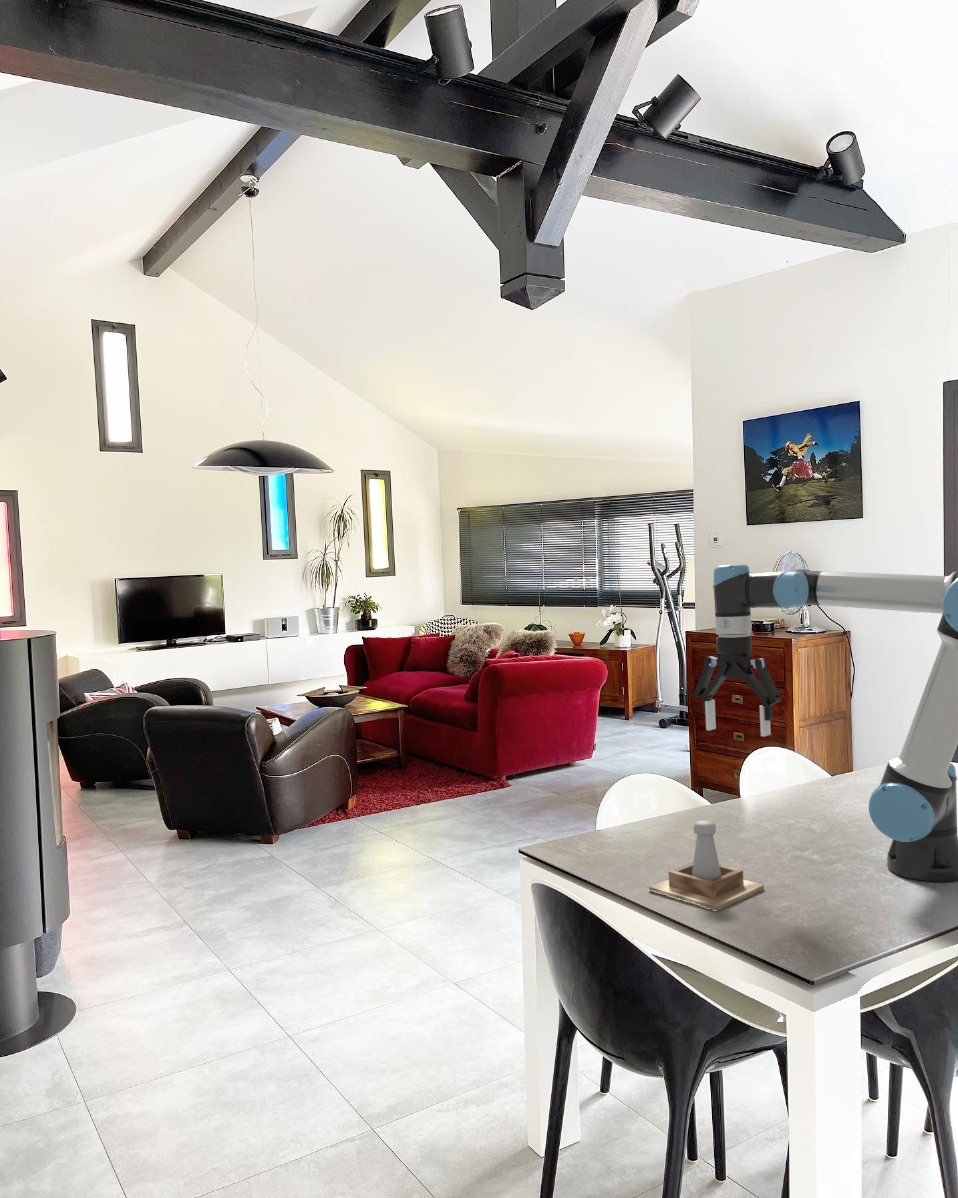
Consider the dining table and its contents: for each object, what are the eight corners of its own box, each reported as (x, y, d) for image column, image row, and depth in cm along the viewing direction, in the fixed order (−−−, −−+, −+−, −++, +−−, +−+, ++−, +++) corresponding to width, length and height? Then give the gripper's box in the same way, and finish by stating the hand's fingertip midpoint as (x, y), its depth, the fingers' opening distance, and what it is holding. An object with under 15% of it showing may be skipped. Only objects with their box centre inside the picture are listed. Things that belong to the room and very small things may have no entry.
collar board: (763, 889, 185) (763, 870, 185) (716, 911, 175) (715, 890, 175) (697, 872, 197) (696, 853, 197) (649, 891, 187) (648, 872, 187)
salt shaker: (700, 879, 190) (698, 816, 190) (726, 884, 186) (724, 820, 186) (687, 887, 186) (684, 823, 185) (713, 893, 182) (711, 827, 182)
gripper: (675, 635, 209) (680, 729, 209) (776, 638, 190) (780, 741, 191) (695, 633, 214) (699, 724, 214) (795, 635, 195) (799, 735, 196)
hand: (737, 732), depth 203 cm, fingers open, 13 cm apart
